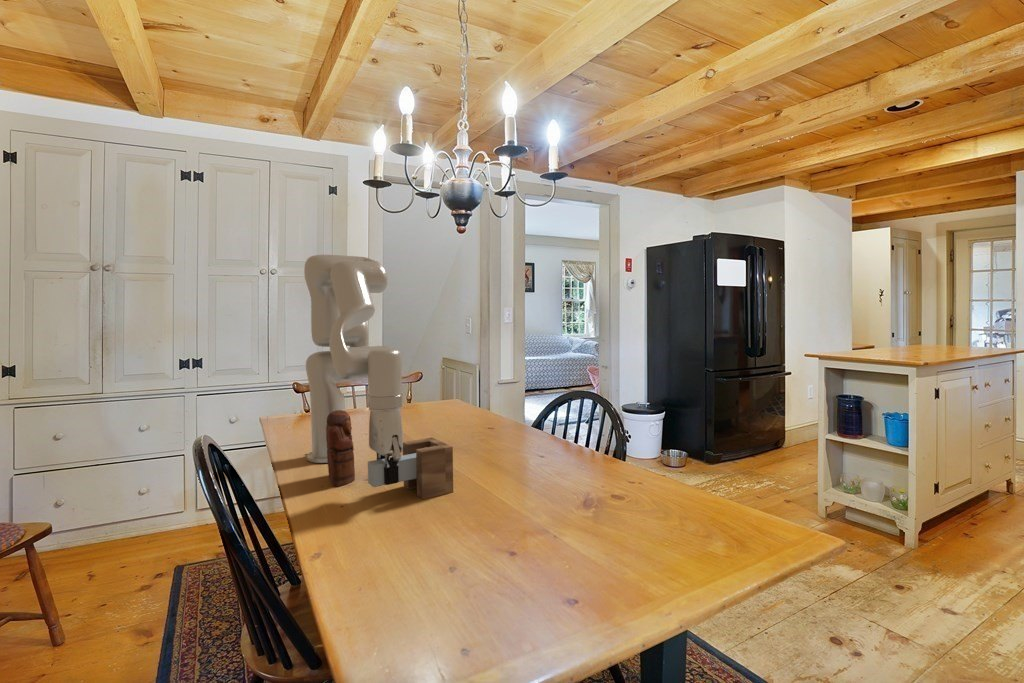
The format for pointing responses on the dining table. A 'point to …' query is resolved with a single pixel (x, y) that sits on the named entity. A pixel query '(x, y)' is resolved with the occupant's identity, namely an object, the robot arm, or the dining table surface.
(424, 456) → the brown wooden u-shaped block
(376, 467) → the rail
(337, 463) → the wooden figurine
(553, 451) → the dining table surface
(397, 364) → the robot arm
